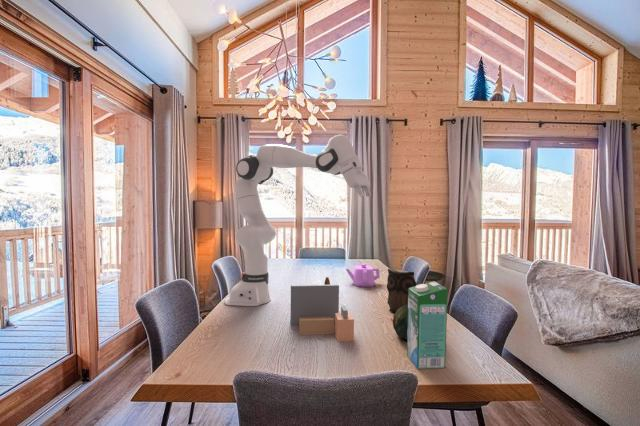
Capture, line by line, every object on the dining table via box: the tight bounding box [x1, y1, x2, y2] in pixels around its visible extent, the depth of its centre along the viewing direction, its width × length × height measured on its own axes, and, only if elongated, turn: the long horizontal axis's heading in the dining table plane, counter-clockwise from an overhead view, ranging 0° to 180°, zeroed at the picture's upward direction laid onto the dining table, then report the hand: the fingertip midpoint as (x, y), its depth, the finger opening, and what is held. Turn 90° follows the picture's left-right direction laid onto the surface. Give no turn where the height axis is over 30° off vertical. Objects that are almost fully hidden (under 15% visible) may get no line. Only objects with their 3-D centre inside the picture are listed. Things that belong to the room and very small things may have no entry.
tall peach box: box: [334, 305, 355, 342], centre depth 120 cm, size 6×7×11 cm
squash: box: [392, 305, 408, 340], centre depth 119 cm, size 14×15×15 cm
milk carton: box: [406, 280, 448, 370], centre depth 102 cm, size 9×9×25 cm
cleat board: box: [289, 284, 340, 336], centre depth 130 cm, size 20×16×16 cm
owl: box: [386, 268, 418, 315], centre depth 147 cm, size 13×13×20 cm
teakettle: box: [345, 263, 381, 288], centre depth 198 cm, size 17×17×12 cm
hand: (365, 196), depth 137 cm, fingers open, 8 cm apart
